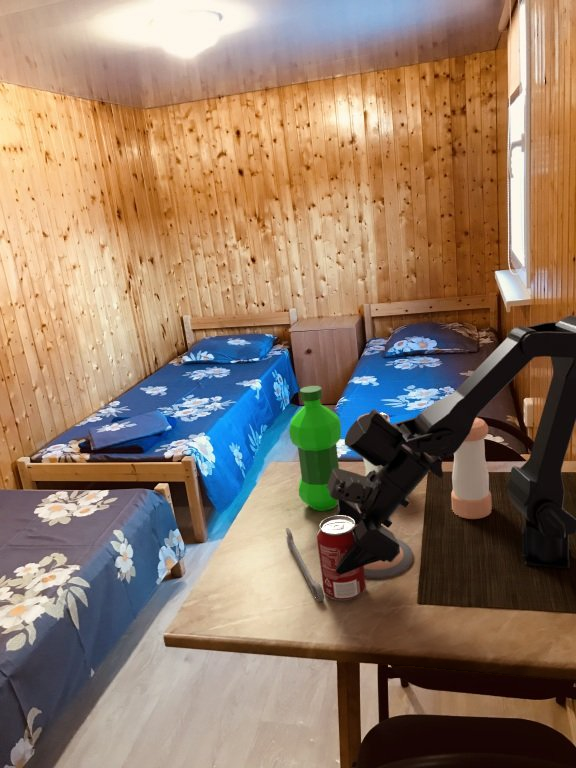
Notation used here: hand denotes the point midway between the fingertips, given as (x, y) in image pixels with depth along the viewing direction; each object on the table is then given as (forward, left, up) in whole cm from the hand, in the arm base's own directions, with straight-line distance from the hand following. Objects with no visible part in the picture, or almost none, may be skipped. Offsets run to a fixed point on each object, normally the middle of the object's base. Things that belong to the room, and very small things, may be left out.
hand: (332, 556), depth 97 cm
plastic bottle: (+11, -28, -7) cm, 30 cm away
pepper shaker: (-18, -30, -7) cm, 35 cm away
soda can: (-1, -1, -7) cm, 7 cm away
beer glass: (+2, -39, -7) cm, 39 cm away
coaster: (-4, -11, -7) cm, 13 cm away
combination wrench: (+7, -5, -7) cm, 11 cm away
